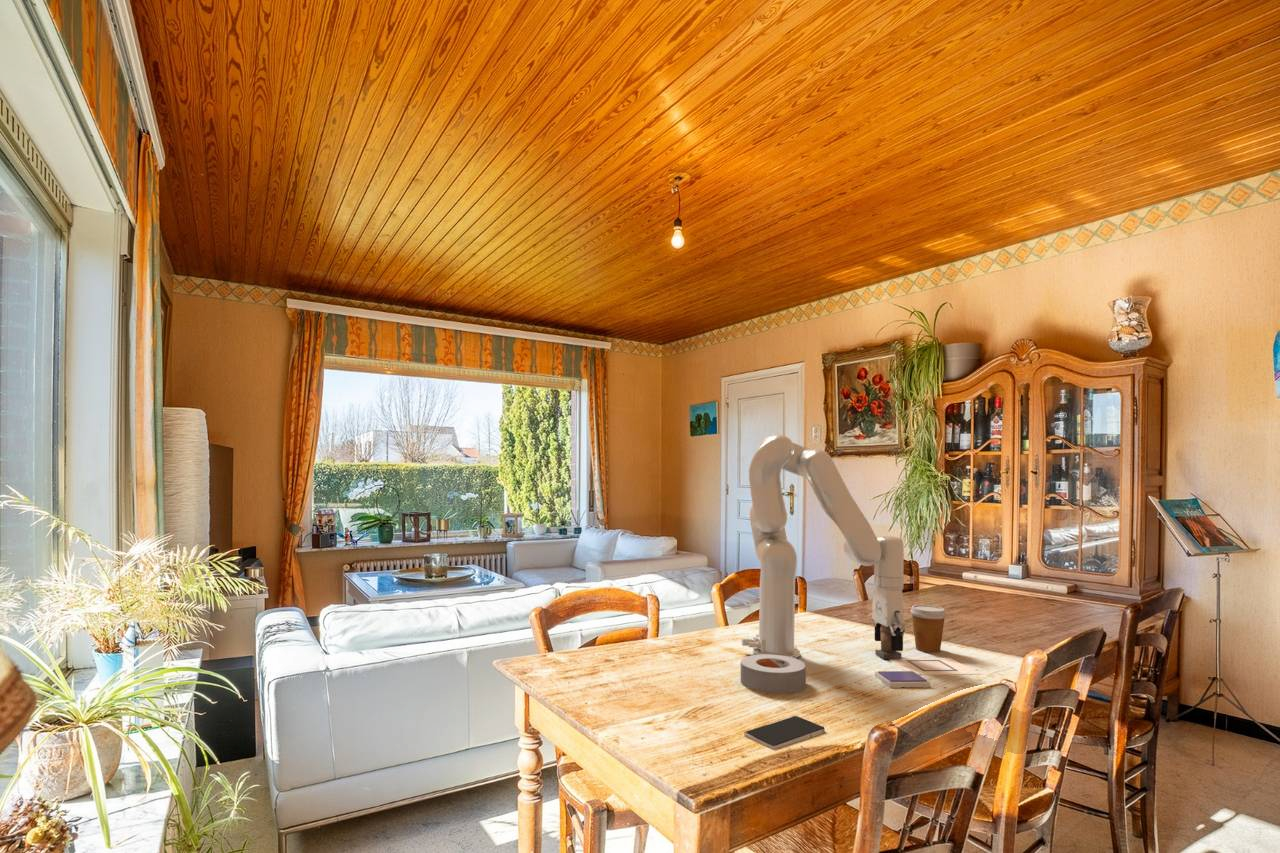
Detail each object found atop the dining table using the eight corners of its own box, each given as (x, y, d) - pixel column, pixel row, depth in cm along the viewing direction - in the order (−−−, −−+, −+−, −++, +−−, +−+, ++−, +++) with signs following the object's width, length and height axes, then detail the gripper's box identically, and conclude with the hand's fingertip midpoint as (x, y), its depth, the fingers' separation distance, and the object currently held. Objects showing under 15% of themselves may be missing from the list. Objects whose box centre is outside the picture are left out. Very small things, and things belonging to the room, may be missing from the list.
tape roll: (726, 681, 165) (727, 660, 165) (768, 670, 174) (768, 650, 175) (778, 699, 153) (778, 676, 153) (819, 686, 163) (819, 664, 163)
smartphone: (742, 731, 132) (794, 715, 141) (742, 738, 132) (794, 721, 141) (774, 746, 126) (826, 727, 135) (774, 753, 126) (826, 734, 135)
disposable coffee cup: (952, 655, 190) (952, 612, 191) (917, 654, 191) (917, 611, 191) (937, 646, 200) (938, 604, 201) (904, 645, 200) (905, 604, 201)
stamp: (883, 659, 184) (882, 624, 186) (875, 655, 189) (874, 621, 190) (901, 659, 185) (900, 624, 186) (892, 655, 190) (891, 621, 191)
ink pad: (889, 687, 162) (889, 681, 162) (874, 676, 170) (874, 670, 170) (930, 687, 163) (930, 681, 163) (913, 676, 171) (913, 670, 171)
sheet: (911, 675, 172) (911, 673, 172) (886, 659, 186) (886, 657, 186) (979, 674, 174) (979, 673, 174) (949, 658, 188) (949, 657, 188)
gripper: (862, 576, 196) (861, 637, 195) (889, 588, 179) (889, 654, 178) (887, 576, 197) (887, 637, 196) (917, 588, 180) (917, 654, 179)
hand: (888, 645), depth 187 cm, fingers open, 9 cm apart
